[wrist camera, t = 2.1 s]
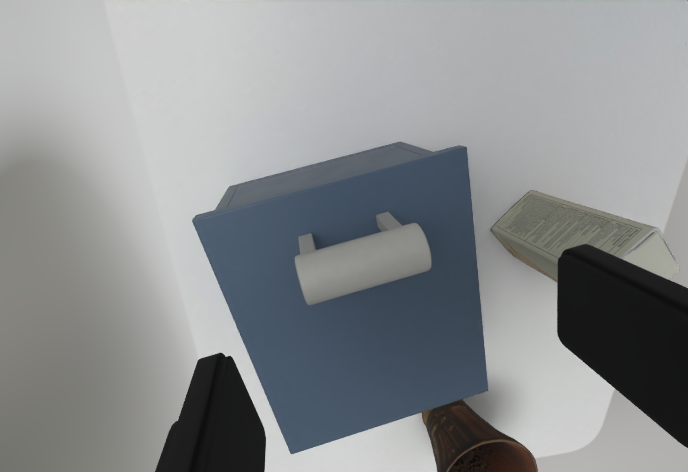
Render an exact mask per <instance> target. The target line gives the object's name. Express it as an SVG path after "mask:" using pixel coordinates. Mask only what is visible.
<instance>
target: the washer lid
mask: <svg viewBox="0 0 688 472" xmlns="http://www.w3.org/2000/svg"><path fill="white" fill-rule="evenodd" d="M192 222H193V224H194V226H195V229H196V231H197V233H198V236H199V238H200V241H201V243H202V245H203V248H204V250H205V252H206V255H207V257H208V259H209V262H210V264H211V267H212V269H213V271H214V274H215V276H216V278H217V281H218V283H219V285H220V288H221V290H222V293H223V295H224V297H225V300H226V302H227V304H228V307H229V309H230V311H231V314H232V316H233V319H234V321H235V323H236V326H237V328H238V330H239V333H240V335H241V337H242V340H243V342H244V345H245V347H246V349H247V352H248V354H249V356H250V359H251V361H252V363H253V366H254V368H255V370H256V373H257V375H258V378H259V380H260V382H261V385H262V387H263V389H264V392H265V394H266V396H267V399H268V401H269V404H270V406H271V408H272V411H273V413H274V415H275V418H276V420H277V422H278V425H279V427H280V430H281V432H282V434H283V437H284V439H285V441H286V444H287V446H288V448H289V451H290V453H291V454H294V453H297V452H300V451H303V450H306V449H309V448H313V447H316V446H319V445H322V444H325V443H328V442H331V441H334V440H337V439H340V438H343V437H346V436H350V435H353V434H356V433H359V432H362V431H365V430H368V429H371V428H374V427H377V426H380V425H384V424H387V423H390V422H393V421H396V420H399V419H402V418H405V417H408V416H411V415H414V414H417V413H421V412H424V411H427V410H430V409H433V408H436V407H439V406H442V405H445V404H448V403H451V402H455V401H458V400H461V399H464V398H467V397H470V396H473V395H476V394H479V393H482V392H485V391H488V383H487V371H486V360H485V349H484V337H483V326H482V315H481V304H480V292H479V281H478V270H477V259H476V247H475V236H474V225H473V214H472V202H471V191H470V180H469V168H468V157H467V148H466V147H464V146H460V145H458V146H454V147H451V148H447V149H443V150H439V151H436V152H432V153H428V154H424V155H420V156H417V157H413V158H409V159H405V160H402V161H398V162H394V163H390V164H387V165H383V166H379V167H375V168H372V169H368V170H364V171H360V172H357V173H353V174H349V175H345V176H342V177H338V178H334V179H330V180H327V181H323V182H319V183H315V184H312V185H308V186H304V187H300V188H297V189H293V190H289V191H285V192H282V193H278V194H274V195H270V196H266V197H263V198H259V199H255V200H251V201H248V202H244V203H240V204H236V205H233V206H229V207H225V208H221V209H218V210H214V211H210V212H206V213H203V214H199V215H196V216H195V217H194V218H193V220H192Z"/></svg>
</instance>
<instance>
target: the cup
mask: <svg viewBox="0 0 688 472" xmlns="http://www.w3.org/2000/svg"><path fill="white" fill-rule="evenodd" d="M422 419H423V422H424V424H425V426H426V428H427V431H428V434H429V437H430V440H431V444H432V448H433V453H434V456H435V461H436V465H437V472H538V469H537V464H536V461H535V458H534V456H533V455H532V453H531V452H530V451H529V450H528V449H527V448H526V447H525V446H523V445H522V444H521V443H519V442H518V441H516V440H515V439H513V438H511V437H509V436H507V435H505V434H503V433H501V432H500V431H498V430H497V429H495V428H494V427H493V426H491V425H490V424H489V423H488V422H486V421H485V420H484V419H482V418H481V417H480V416H479V415H478V414H476V413H475V412H474V411H473V410H472V409H471V408H470V407H469V406H468V405H467V404H466V403H465V402H464V401H463V399H461V400H458V401H455V402H451V403H448V404H445V405H442V406H439V407H436V408H433V409H430V410H427V411H424V412H422Z"/></svg>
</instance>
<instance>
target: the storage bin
mask: <svg viewBox="0 0 688 472" xmlns="http://www.w3.org/2000/svg"><path fill="white" fill-rule="evenodd" d="M428 153H432V151H429V150H425V149H422V148H419V147H416V146H412V145H409V144H406V143H403V142H397V143H393V144H390V145H386V146H382V147H378V148H374V149H371V150H367V151H363V152H359V153H355V154H351V155H348V156H344V157H340V158H336V159H332V160H329V161H325V162H321V163H317V164H313V165H310V166H306V167H302V168H298V169H294V170H290V171H287V172H283V173H279V174H275V175H271V176H268V177H264V178H260V179H256V180H252V181H248V182H245V183H241V184H237V185H233V186H230V187H229V188H228V190H227V191H226V193H225V194H224V196H223V198H222V199H221V201H220V203H219V204H218V206H217V207H216V209H215V210H218V209H221V208H225V207H229V206H233V205H236V204H240V203H244V202H248V201H251V200H255V199H259V198H263V197H266V196H270V195H274V194H278V193H282V192H285V191H289V190H293V189H297V188H300V187H304V186H308V185H312V184H315V183H319V182H323V181H327V180H330V179H334V178H338V177H342V176H345V175H349V174H353V173H357V172H360V171H364V170H368V169H372V168H375V167H379V166H383V165H387V164H390V163H394V162H398V161H402V160H405V159H409V158H413V157H417V156H420V155H424V154H428Z"/></svg>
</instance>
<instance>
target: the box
mask: <svg viewBox="0 0 688 472" xmlns="http://www.w3.org/2000/svg"><path fill="white" fill-rule="evenodd" d="M491 230H492V232H493V233H494V234H495V236H496V237H497V238H498V239H499V241H500V242H501V243H502V244H503V245H504V246H505V248H506V249H507V250H508V251H509V252H510V253H511V254H512V255H513V256H514V257H516V258H517V259H519V260H521V261H522V262H524V263H526V264H527V265H529V266H531V267H532V268H534V269H536V270H537V271H539V272H541V273H543V274H544V275H546V276H548V277H549V278H551V279H553V280H554V281H556V282H558V259H559V257H561V254H562V252H563V251H564V250H565V249H569V248H572V247H575V246H579V245H582V244H588V245H591V246H594V247H596V248H598V249H600V250H603V251H605V252H607V253H609V254H612V255H614V256H616V257H618V258H621V259H623V260H625V261H627V262H630V263H632V264H634V265H636V266H639V267H641V268H643V269H645V270H648V271H650V272H652V273H654V274H657V275H659V276H661V277H663V278H666V279H668V280H669V279H670V278H671V277H673V276H674V275H675V274H676V273H677V272H678V271H679V270H680V268H679V265H678V263H677V261H676V259H675V257H674V255H673V253H672V252H671V250H670V248H669V246H668V244H667V243H666V240H665V239H664V237H663V235H662V234H661V232H660V230H659V228H656V227H653V226H649V225H646V224H642V223H639V222H635V221H632V220H629V219H625V218H622V217H619V216H615V215H612V214H609V213H606V212H602V211H599V210H596V209H592V208H589V207H586V206H582V205H579V204H575V203H572V202H569V201H565V200H562V199H559V198H556V197H553V196H549V195H546V194H543V193H540V192H536V191H533V190H531V191H530V192H528V193H527V194H526V195H525V196H524V197H523V198H522V199H521V200H520V201H519V202H517V203H516V204H515V205H514V206H513V207H512V208H511V209H510V210H509V211H508V212H507V213H506V214H505V215H504V216H503V217H502V218H501V219H500V220H499V221H498V222H497V223H496V224H495V225H494V226H493V227H492V228H491Z"/></svg>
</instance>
